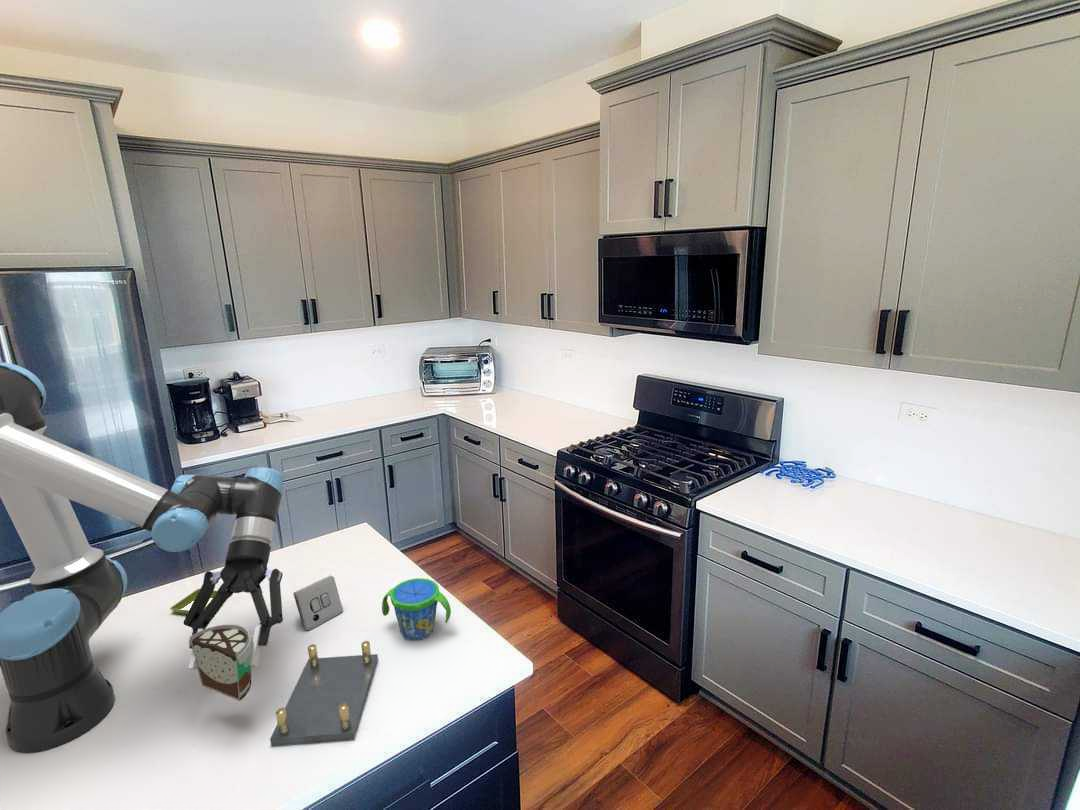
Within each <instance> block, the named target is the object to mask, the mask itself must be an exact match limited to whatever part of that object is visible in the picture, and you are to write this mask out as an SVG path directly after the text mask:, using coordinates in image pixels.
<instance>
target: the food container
mask: <svg viewBox="0 0 1080 810" xmlns="http://www.w3.org/2000/svg"><path fill="white" fill-rule="evenodd" d="M188 644H189V645H188V646H191V645H192V649H191V650H192V651H193V653H194V656H196V663H197V668H198V670H197V672H198V675H199V676H198V677H199V680H200V683H201V686H202V687H204V688H206V689H209V690H212V691H214V692H216V693H218V694H221V695H223V696H226V697H228V698H231V699H233V700H235V701H239V702H241V701H242V700H243V699H244V698H245V697H246V696H247V694H248V693H249V692H250V690H251V686H252V671H251V670H252V668H251V667H252V666H250V665H249V664H250V654H251V652H252V650H253V647H254V642H253V638H252V635H251V633H250V632H249V631H248V630H247V628H245V627H244V626H241V625H238V624H221V625H220V624H219V625H215V626H210V627H208V628H207V627H206V628H205V629H204V630H202V631H200V632H198V633H196V634H194V635H192V634H191V635H190V636H189V640H188Z"/></svg>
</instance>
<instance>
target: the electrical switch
mask: <svg viewBox="0 0 1080 810" xmlns="http://www.w3.org/2000/svg"><path fill="white" fill-rule="evenodd" d="M293 597H294V601H295V604H296V608H297V611H298V615H299V619H300V621H301V625H303V628H304V630H306V631H310V630H313V629H314V628H316V627H318V626H320V625H322V624H323V623H325V622H327V621H329V620H331V619H333V618H334V617H336V616H338V615H340V614H342V612H343V609H344V607H343V605H342V601H341V598H340V594H339V590H338V586H337V583H336V580H335V577H334V576H333V575H328V576H325V577H324V578H321V579H319V580H317V581H315V582H313V583H311V584H309V585H306V586H305V587H303V588H300V589H299V590H296V591H295V592H293Z"/></svg>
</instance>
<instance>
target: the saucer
mask: <svg viewBox="0 0 1080 810" xmlns="http://www.w3.org/2000/svg"><path fill="white" fill-rule="evenodd" d="M200 589H201V588H198V589H196V590H194V591H193V592H191V593H190V594H188V595H187V596H185V597H184V598H183V599H181V600H179V601H178V602H177V603H175V604H174V605H172V606H171V607H170V608H169V609H170V610H171V611H173V612H176V613H177V612H178V614H183V613H185V615H187V614H188V612H189V611H188V610H180V609H182V608H184V607H185V606H187V605H188V604H190V603H191V602H192V601H194V600H195V598H196V596H197V595H198V593H199V591H200ZM217 592H218V590H214V591H213V593H212V595H211V597H210V598H214V596H215V595H216V594H217ZM207 606H208V605H207ZM207 606H206V607H207ZM206 607H205V608H206Z"/></svg>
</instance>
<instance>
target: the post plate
mask: <svg viewBox="0 0 1080 810" xmlns="http://www.w3.org/2000/svg"><path fill="white" fill-rule="evenodd" d="M360 644H361V652H362V653H361V654H360V655H359V654H358V655H345V656H331V657H330V656H329V657H319V655H318V648H317V644H316V643H315V644H314V643H313V644H310V645H308V647H307V652H308V659H307V661H306V663H305V666H304V668H303V669H302V671H301V674H300V676H299V678H298V680H297V682H296V684H295V686H294V688H293V690H292V693H291V694H290V697H289V699H288V701H287V703H286V706H285V707H280V708H278V709H277V710H276V711H275V716H276V723H277V724H276V726H275V728H274V729H273V732H272V734H271V736H270V738H269V740H270V746H271V747H278V746H293V745H304V744H306V745H307V744H316V743H317V744H319V743H320V744H321V743H331V742H344V741H354V740H355V738H356V735H357V731H358V728H359V724H360V721H361V718H362V715H363V712H364V708H365V705H366V701H367V698H368V695H369V691H370V689H371V685H372V681H373V679H374V675H375V671H376V669H377V665H378V662H379V655H378V653H375V654H372V653H371V646H370V640H365V641H362V642H361V643H360Z"/></svg>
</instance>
